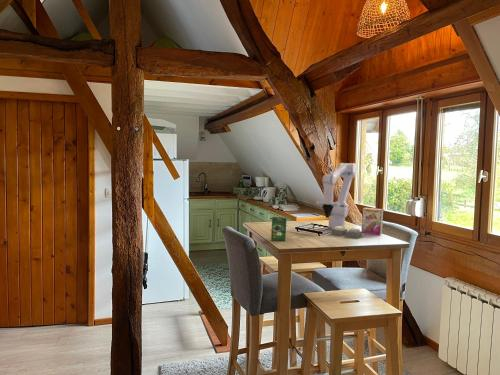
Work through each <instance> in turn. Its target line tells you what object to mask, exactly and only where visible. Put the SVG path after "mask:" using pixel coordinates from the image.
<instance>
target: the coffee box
mask: <svg viewBox="0 0 500 375" xmlns="http://www.w3.org/2000/svg"><path fill="white" fill-rule="evenodd" d="M271 219H272V220H271V233H270V234H271V236H270V238H271V240H270V241H273V242H274V241H277V242H278V241H280V242H285V241H286V235H287V234H286V233H287V217H286V216H285V217H284V216H272V218H271Z"/></svg>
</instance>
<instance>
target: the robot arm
mask: <svg viewBox="0 0 500 375" xmlns="http://www.w3.org/2000/svg"><path fill="white" fill-rule="evenodd" d="M357 170H358V169H357V165H356V163H355V162H353V163H352V162H350V163H348V162H347V163H346V162H345V163H344V162H341V163H339V165H338V168H335V169H334V168H333V169H332V170H331V171H330V172H329V173H327V174H324V175H323V176H322V178H321V181H322V187H323V200H316V205H319V206H320V205H322V209H323V211H324V214H325V218H327V219H328V229H331V230H332V229H334V228H335V227H336V226H341V227H345V223H346V218H347V216H348V214H349V205H348V203H347V199H348V196H349V191H350V188H351V185H352V182H353V179H354V178H355V176H356V173H357ZM339 178H343V180H342V185H341V188H340V191H339V193H338V194H339V195H338V198H337V201H334V188H335V187H334V186H335V184H336V182H337V181H338V179H339ZM345 228H346V227H345Z"/></svg>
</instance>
